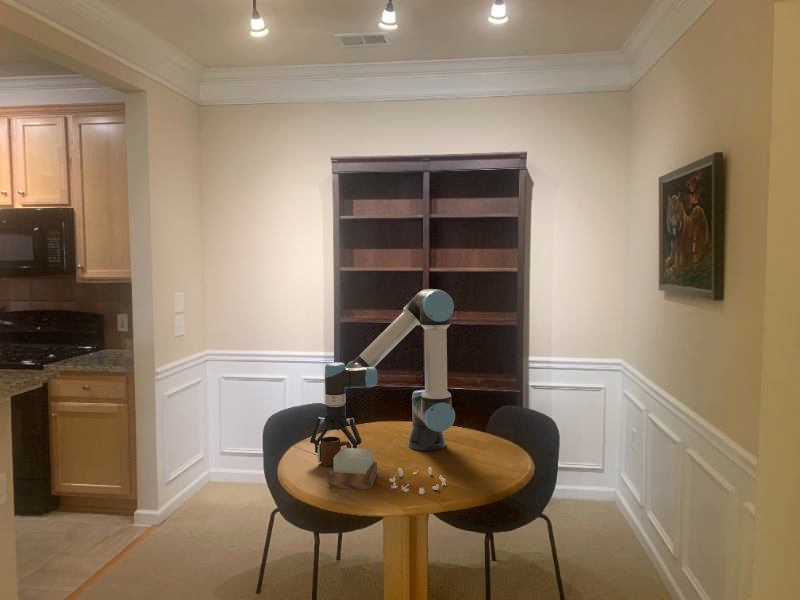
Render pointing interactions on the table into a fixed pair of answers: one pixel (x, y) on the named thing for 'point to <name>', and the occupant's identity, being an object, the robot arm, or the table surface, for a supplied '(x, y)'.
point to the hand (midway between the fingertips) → (336, 462)
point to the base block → (353, 479)
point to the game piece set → (415, 473)
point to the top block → (353, 460)
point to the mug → (331, 449)
